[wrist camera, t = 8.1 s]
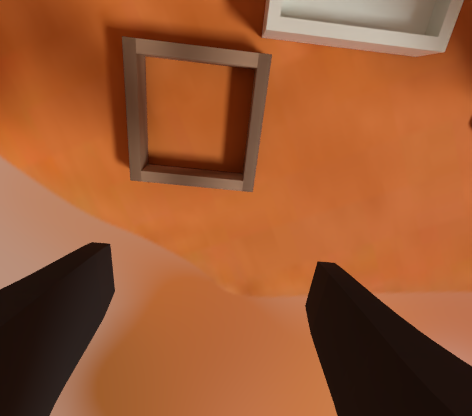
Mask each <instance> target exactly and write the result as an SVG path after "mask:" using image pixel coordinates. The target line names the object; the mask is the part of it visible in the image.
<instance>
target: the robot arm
mask: <svg viewBox="0 0 472 416" xmlns="http://www.w3.org/2000/svg"><path fill="white" fill-rule="evenodd" d="M114 292H115V288H114V278H113V267H112V258H111V248H110V244H106V243H94V242H92V243H89V244H87V245H85V246H83V247H81V248H79V249H77V250H75V251H73V252H72V253H70V254H68V255H66V256H64V257H62V258H60V259H59V260H57V261H55V262H53V263H51V264H49V265H48V266H46V267H44V268H42V269H40V270H38V271H36V272H34V273H33V274H31V275H29V276H27V277H25V278H23V279H21V280H19V281H17V282H15V283H13V284H11V285H9V286H7V287H4V288H2V289H1V290H0V416H49V415H50V413H51V411H52V409H53V407H54V405H55V403H56V401H57V399H58V397H59V395H60V393H61V391H62V390H63V388H64V386H65V384H66V382H67V381H68V379H69V377H70V376H71V374H72V372H73V370H74V369H75V367H76V365H77V364H78V362H79V360H80V358H81V357H82V355H83V353H84V351H85V350H86V348H87V346H88V344H89V343H90V341H91V339H92V338H93V336H94V334H95V332H96V331H97V329H98V327H99V325H100V324H101V322H102V320H103V318H104V316H105V314H106V311H107V309H108V307H109V304H110V302H111V299H112V297H113V294H114ZM305 306H306V312H307V317H308V322H309V327H310V332H311V335H312V338H313V342H314V345H315V348H316V351H317V354H318V357H319V360H320V363H321V366H322V369H323V372H324V375H325V378H326V381H327V384H328V387H329V390H330V393H331V396H332V399H333V401H334V405H335V409H336V412H337V415H338V416H472V366H470V365H469V364H467V363H466V362H464V361H463V360H461V359H459V358H458V357H456V356H455V355H454V354H452V353H451V352H449V351H447V350H446V349H445V348H443V347H442V346H440V345H439V344H437V343H436V342H434V341H433V340H431V339H430V338H429V337H427V336H426V335H424V334H423V333H421V332H420V331H418V330H417V329H416V328H415V327H414V326H412V325H411V324H409V323H408V322H407V321H405V320H404V319H403V318H401V317H400V316H399V315H398V314H396V313H395V312H394V311H393V310H391V309H390V308H389V307H388V306H386V305H385V304H384V303H383V302H381V301H380V300H379V299H378V298H377V297H375V296H374V295H373V294H372V293H371V292H369V291H368V290H367V289H366V288H365V287H364V286H362V285H361V284H360V283H359V282H358V281H356V280H355V279H354V278H353V277H352V276H351V275H349V274H348V273H347V272H346V271H344V270H343V269H342V268H341V267H339V266H338V265H337V264H335V263H329V262H317V266H316V269H315V273H314V276H313V280H312V284H311V287H310V291H309V294H308V298H307V302H306V305H305Z"/></svg>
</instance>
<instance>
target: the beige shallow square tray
mask: <svg viewBox="0 0 472 416" xmlns="http://www.w3.org/2000/svg"><path fill="white" fill-rule="evenodd" d="M463 1H464V0H266V5H265V13H264V21H263V30H262V38H269V39H277V40H285V41H293V42H301V43H309V44H317V45H325V46H333V47H341V48H349V49H357V50H365V51H373V52H381V53H389V54H397V55H405V56H413V57H418V56H424V55H430V54H437V53H443V52H445V50H446V47H447V45H448V42H449V39H450V36H451V34H452V31H453V28H454V26H455V23H456V20H457V18H458V15H459V12H460V9H461V7H462V4H463Z"/></svg>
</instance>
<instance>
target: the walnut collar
mask: <svg viewBox="0 0 472 416" xmlns="http://www.w3.org/2000/svg"><path fill="white" fill-rule="evenodd" d="M122 47H123V64H124V80H125V97H126V114H127V131H128V148H129V165H130V180H132V181H143V182H153V183H164V184H174V185H184V186H195V187H205V188H216V189H226V190H236V191H247V192H253V187H254V179H255V172H256V165H257V158H258V151H259V144H260V136H261V129H262V122H263V115H264V108H265V101H266V94H267V86H268V79H269V72H270V65H271V58H272V55H271V54H263V53H255V52H246V51H238V50H230V49H222V48H214V47H205V46H197V45H189V44H181V43H173V42H165V41H156V40H148V39H140V38H132V37H124V36H122ZM145 56H147V57H156V58H164V59H172V60H181V61H189V62H198V63H206V64H214V65H223V66H231V67H240V68H248V69H255V74H254V82H253V91H252V99H251V108H250V116H249V124H248V133H247V141H246V149H245V158H244V166H243V174H242V173H232V172H222V171H212V170H202V169H192V168H182V167H172V166H162V165H152V164H148V136H147V102H146V68H145Z"/></svg>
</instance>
